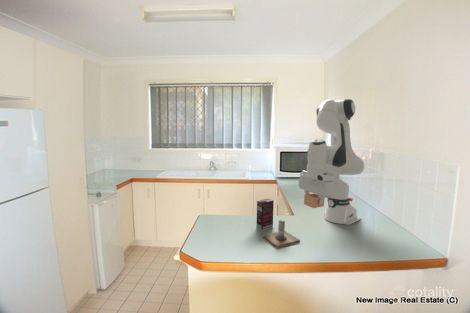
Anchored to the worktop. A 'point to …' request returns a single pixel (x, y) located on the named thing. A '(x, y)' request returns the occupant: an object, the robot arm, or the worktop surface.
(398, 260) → the worktop surface
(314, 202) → the ring
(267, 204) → the supplement box
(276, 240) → the post board
